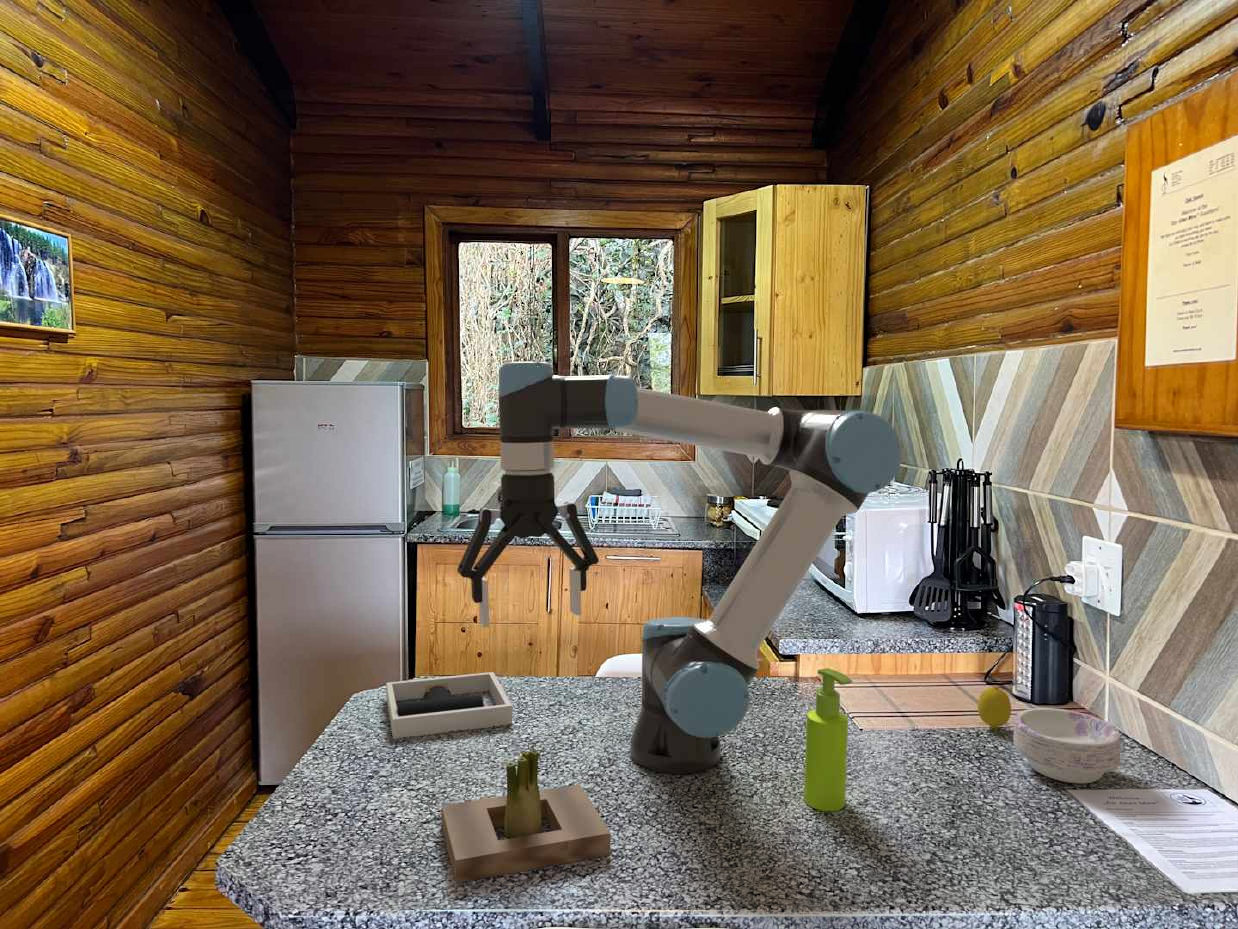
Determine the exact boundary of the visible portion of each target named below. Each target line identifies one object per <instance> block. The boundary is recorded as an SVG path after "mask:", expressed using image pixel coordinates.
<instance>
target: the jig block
mask: <svg viewBox="0 0 1238 929" xmlns="http://www.w3.org/2000/svg"><path fill="white" fill-rule="evenodd" d="M539 793H540V802H541V821H543V820H546V821H547V824H548V825H549V828H550V829H551V830H550V831H547V832H546V831H545V832H542V833H539V834H534V835H528V836H522V837H516V838H510V839H506V838H505V839H499V840H498V836H497V834H496V833H497V832H496V831H495V828H504V820H505V811H506V803H507V794H506V795H500V796H494V797H487V798H481V799H474V800H468V801H461V802H455V803H448V804H442V805H441V829H443V830H442V833H443V838H444V837H445V838H444V842H445V841H446V842H445V846H446V850H447V853H448V857H449V863H450V865H451V866H452V867H451V866H450V867H451V869H452V875H453V877H454V878H453V879H454V882H455V884H462V883H467V882H473V881H477V880H481V879H488V878H493V877H498V876H499V877H500V876H504V874H505V875H510V874H515V873H521V872H526V871H530V870H536V869H543V868H549V867H553V866H559V865H562V864H569V863H575V862H580V861H586V860H590V859H597V858H601V857H607V856H611V832H610V829H609V827H607V825H606V823H605V821H604V820H603V819H602V817H601V815H600V814H599V812H598V811H597V809H596V807H595V806H594V804H593V803H592V801H591V800H590V798H589V796H588V794H587V793H586V792H585V790H584V788H583V786H582V785H581V784H579V783H578V784H574V785H566V786H560V787H559V786H558V787H553V788H545V789H540V790H539Z"/></svg>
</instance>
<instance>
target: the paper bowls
mask: <svg viewBox="0 0 1238 929" xmlns="http://www.w3.org/2000/svg"><path fill="white" fill-rule="evenodd" d="M1012 739H1013V747H1014V749H1015V751H1017V752H1018V753H1019V754H1020V755H1022V756H1023V757H1024V758H1026V760H1027V762H1028V764H1029V765H1030V767H1031V768H1032V769H1033V770H1034V771H1036V772H1037V773H1038V774H1041V775H1043V776H1045V777H1047V778H1050V779H1052V780H1056V781H1060V782H1064V783H1070V784H1089V783H1094V782H1096V781H1098V780H1100V779H1101V778H1102V777H1103V775H1104V774H1105V773H1109V772H1112V771H1113V772H1114V771H1115V770H1116V769H1118V768H1119V766H1120V761H1121V753H1122V752H1121V751H1122V748H1121V744H1122V735H1121V733H1120V731H1119V730H1118V729H1117V728H1116V727H1115V726H1114V725H1112V724H1110V723H1109V722H1107V721H1105V720H1103V719H1101V718H1098V717H1095V716H1093V715H1090V714H1087V713H1082V712H1079V711H1073V710H1068V709H1063V708H1050V707H1049V708H1048V707H1042V708H1041V707H1037V708H1028V709H1025V710H1022V711H1020V712H1017V714H1015V716H1014V719H1013V738H1012Z"/></svg>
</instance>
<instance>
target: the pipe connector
mask: <svg viewBox="0 0 1238 929" xmlns="http://www.w3.org/2000/svg"><path fill="white" fill-rule="evenodd" d="M484 705H485V704H484V697H483V694H479V695H478V694H477V695H466V696H456V697H453V695H451V692H450V690H449V689H448V685H447V684H435V685H427V686H426V691H425V693H424V695H423V698H422V700H416V701H408V702H407V701H405V702H396V707H397V712H398V717H400V716H409V715H417V714H426V713H435V712H444V711H452V710H461V709H470V708H478V707H485V706H484Z"/></svg>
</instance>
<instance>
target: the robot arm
mask: <svg viewBox="0 0 1238 929" xmlns="http://www.w3.org/2000/svg"><path fill="white" fill-rule="evenodd" d="M498 413H499V414H498V415H499V416H498V417H499V418H498V419H499V421H498V422H499V436H500V437H499V438H500V439H499V441H500V445H499V446H500V469H501V470H502V471H505V472H504V473H502V475H501V476H500V487H501V488H500V491H501V492H500V493H501V496H500V497H501V498H500V500H501V504H500V505H501V506H500V507H499V509H494V508H493V509H491V508H487V507H480V509H479V511H478V519H477V521H478V522H477V525H476V527H475V529H474V531H473V534H472V536H471V538H470V540H469V542H468V545H467V547H466V550H465V551H464V554H463V556H462V558H461V560H460V562H459V564H458V567H457V569H456V570H457V573H458V574H459V575H460V576H461V577H462V578H466V579H470V582H471V583H470V584H471V586H470V587H471V598H472V602H474V603H475V604H478V611H479V612H478V613H479V614H478V615H479V616H478V620H479V624H481V626H482V627H483V628H489V627H490V610H489V609H490V607H489V606H490V602H489V600H490V599H489V580H488V579H486V577H484V576H485V575H486V574H487V573H488V572H489V570H490V568H491V567H492V566H493V565H494V564H495V562H496V561H497V559H498V558H499V557H500V556H501V554H502V553H503V552H504V550H505V549H506V548H507V546H508V545H509V544H510V543H512V541H513V540H514V539H515V537H516V538H519V539H526V538H527V539H528V538H530V537H534V538H542V536H544V535H546V536H547V537H549V539H550V540H551V541H552V542H553V544H555V545H556V546H557V547H558V549H559V550H560V551H561V552H562V553H563V554H564V555H565V556H566V558H567V559H568V560H569V561H570V562H571V563H572V564H573V565H574V567H569V569H568V570H569V571H568V572H569V612H570V613H572V614H573V615H575V616H577V617H578V616H581V615H582V597H581V596H582V592H584V591H585V592H586V590H587V571H588V570H589V569H590V566H593V565H597V564H598V563H599V561H600V560H599V556H598V555H597V553H596V550H595V549H594V547H593V546H592V543H591V542H590V539H589V537H588V535H587V533H586V532H585V529H584V528H583V526H582V523H581V522H580V520H579V517H578V510H577V506H576V503H572V502H570V501H564V503H563V504H556V501H555V496H556V495H555V494H556V492H555V490H556V489H555V474H553V472H551V470H553V469H554V468H555V454H554V452H555V451H554V430H558V429H560V430H564V429H585V430H586V429H590V430H591V429H600V430H604V431H612V432H613V431H614V432H619V433H624V434H625V433H626V434H629V435H637V436H641V437H646V438H652V439H656V440H657V439H658V440H661V441H662V440H664V441H669V442H673V443H679V444H686V445H691V446H697V447H701V448H702V447H703V448H707V449H712V450H719V451H724V452H729V453H733V454H734V453H735V454H739V455H746V456H751V457H757V458H758V459H759V461H760V462H761V463H762V464H763V465H766V466H772V467H777V468H782V469H784V470H788V471H789V472H788V473H789V477H790V481H791V487H790V489H789V491H788V492H787V494H786V495H785V497H784V498H783V500H782V501H781V503H780V505H779V506H778V508H777V509H776V511H775V513H774V514H773V516H772V517H771V519H770V521H769V522H768V524H767V525H766V526H765V528H764V530H763V532H762V533H761V535H760V537H759V538H758V540H757V541H756V543H755V545H754V546H753V548H752V549H751V551H750V552H749V554H748V556H747V557H746V558H745V560H744V562H743V564H742V565H741V566H740V569H738V571H737V573H736V575H735V576H734V578H733V580H732V581H731V583H730V584H729V586H728V587H727V589H726V591H725V592H724V594H723V595H722V597H721V598H720V600H719V601H718V603H717V605H716V606H715V608H714V609H713V611H712V613H711V614H710V616H709V618H707V619H703V618H698V617H689V616H685V617H684V616H682V617H681V616H671V617H659V618H658V617H656V618H653V619H650V620H648V621H646V622H645V623H644V625H643V627H642V636H641V637H640V638H641V639H640V640H641V642H642V644H641V645H642V646H641V647H642V648H641V649H642V651H641V707H640V711H639V714H638V717H637V719H636V720H637V721H636V722H635V726H634V729H633V731H632V734H631V738H630V748H629V751H630V757H631V758H632V760H633V761H634V762H635V763H636V764H638V765H639V766H641V767H643V768H645V769H649V770H651V771H655V772H657V773H664V774H671V775H684V774H685V775H687V774H695V773H700V772H704V771H707V770H709V769H711V768H713V767H715V766H716V765H717V764H718V763H719V762H720V760H721V755H722V754H721V751H722V750H721V747H722V745H721V739H720V736H723V735H725V734H727V733H730V732H731V731H733V730H734V729H735V728H736V727H738V726H739V724H740V723H741V722H742V721H743V720H744V718H745V716H746V714H747V712H748V709H749V706H750V690H749V685H750V683H751V682H752V680H753V679H754V677H755V676H756V673H758V670H759V668H760V663H759V658H758V651H759V649H760V647H761V646H762V644H763V642H765V640H766V638H767V636H768V635H769V633H770V632H771V630H772V629H773V627H774V626H775V624H776V622H777V620H779V617H780V615H781V614H782V612H783V611H784V609H785V608H786V607H787V605H788V603H789V601H790V599H791V598H792V596H793V595H794V593H795V591H797V590H796V589H797V588H798V587H799V585H800V584H801V583H802V580H803V579H804V577H805V576H806V575H807V572H808V571H809V569H810V568H811V566H812V565H813V563H814V561H815V560H816V558H817V557H818V555H819V553H820V552H821V550H822V549H823V547H824V545H825V544H826V542H827V541H828V539H830V536H831V534H832V533H833V531H834V530H835V528H836V526H837V525H838V523H839V522H840V520H841V518H843V517H845V516H847V515H853V514H856V513H857V512H858V511H860V510H859V509H860V508H861V506H862V505H863V504H864V502H865V500H866V499H867V497H868V496H869V494H870V493H875V492H878V491H880V490H882V489H884V488H885V487H887V486H888V485H889V484H890V483H891V482H892V481H893V480H894V479H895V477H896V476H897V474H898V472H899V470H900V466H901V464H902V454H903V453H902V451H903V450H902V447H901V442H900V438H899V436H898V434H897V431H896V430H895V428H894V427H893V426H892V424H890V422H889V421H888V420H886V419H885V418H883V416H881V415H878V414H876V413H874V412H868V411H867V410H866V411H865V410H862V409H848V410H838V409H817V410H816V409H810V410H799V409H798V410H797V409H788V408H787V409H785V408H781V407H777V406H776V407H771V408H770V409H769V410H768V411H764V410H758V409H754V408H748V407H743V406H737V405H732V404H727V403H721V402H716V401H712V400H705V399H700V398H695V397H691V396H690V397H689V396H683V395H679V394H673V393H669V392H664V391H657V390H652V389H647V388H642V387H638V386H637V383H636V381H635V379H634V378H633V377H632V376H630V375H616V374H610V375H609V374H607V375H604V374H603V375H575V376H574V375H573V376H564V375H554V371H553V366H552V365H551V363H550V362H548V361H547V362H546V361H510V362H506V363H504V364H503V365H502V366H501V367H500V368H499V371H498ZM558 514H559V515H560V517H561V519H562V518H563V519H564V520H565V522H566V525H567V526H568V529H570V532H571V534H572V536H573V538H574V540H575V541H576V543H577V546H578V547H579V549H580V552H581V553H582V555H583V556H581V555H580V554H579V553H578V552H577V551H576V549H574V548H573V546H572V545H571V544H570V543H569V541H567V540H566V538H565V537H564V536H563V535H562V534H561V533H560V531H559V530H558V528H556V526H555V525H554V524H553V523H554V521H555V519H556V518H557V516H558ZM497 519H499V520H501V522H502V523H503V524H504V525H503V526H502V528H501V529H500V531H499V532H498V534H497V535H496V537H495V539H494V540H493V541H492V542H491V544H489V546H488V548H487V549H486V550H485V552H484V553H483V554H482V556H481V557H480V558H479V560H478V561H477V562H476V560H477V558H478V556H479V554H480V552H481V550H482V547H483V545H484V543H485V541H486V538H487V536H488V534H489V531H490V529H491V526H492V525H494V524H495V523H496V520H497ZM475 563H476V564H475Z"/></svg>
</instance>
